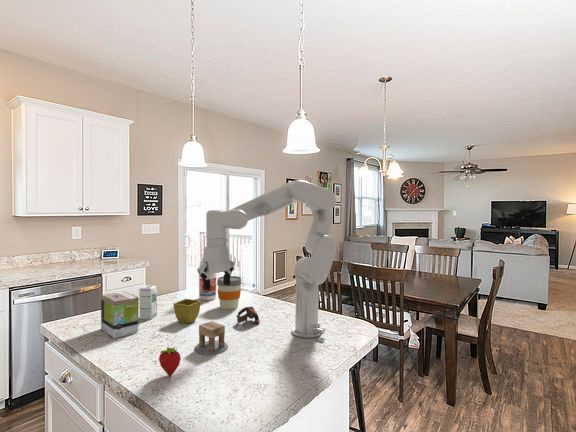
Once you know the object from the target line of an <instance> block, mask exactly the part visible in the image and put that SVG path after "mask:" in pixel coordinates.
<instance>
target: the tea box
mask: <svg viewBox="0 0 576 432" xmlns="http://www.w3.org/2000/svg"><path fill="white" fill-rule="evenodd" d="M100 299H101V300H100V304H101V305H100V329H101V331H102V330H103V331H104V332H105V333H106V334H108V335H109V336H110V337H112V338H114V339H117V338H121V337H124V336H128V335H132V334H133V335H134V334H137V333H139V314H140V296H136V295H134V294H132V293H130V292H127V291H117V292H112V293H107V294H106V293H105V294H101V296H100Z"/></svg>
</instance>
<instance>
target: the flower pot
mask: <svg viewBox="0 0 576 432" xmlns="http://www.w3.org/2000/svg"><path fill="white" fill-rule="evenodd" d="M201 302H202V300H200V299H197V300H196V299H191V298H184V299H181V300H179V301H176V302H174V303H173V310H174V316H175V318H176V319H177V321H178V322H179V323H183V324H190V323H192V322H194V321H196V320H197V318H198V316H199V314H200V310H201Z"/></svg>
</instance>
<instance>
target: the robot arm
mask: <svg viewBox="0 0 576 432" xmlns="http://www.w3.org/2000/svg"><path fill="white" fill-rule="evenodd" d="M297 202H299V203H303V204H306V205H307V206H308V208H309V210H310V212H311V214H312V221H311V225H310V228H309V230H308V231H309V232H308V233H307V237H306V239H305V244H304V247H305V251H306V252H307V253H308V254H311V255H310V257H309V256H302V257H301V258H299V259H298V260H297V261H296V263H295V266H294V279H295V315H294V316H295V323H294V324H295V325H294V326H292V327H291V333H292V334H293V336H296V337H299V338H304V339H305V338H306V339H309V338H310V339H311V338H316V337H319V336H320V335H325V331H326V327H321V322H319V291H320V290H319V286H320V285H322V284H324V283H325V281H326V280H327V278H328V277H329V274H330V272H331V268H332V265H333V262H334V259H335V255H336V252H337V245H336V244H337V243H336V241H335V239H334V238H333V237H332V236H331V231H332V227H333V220H334V219H333V213H332V209H333V208H335V206H336V203H337V196H336V194H335V193H334V192H333V191H332V190H330V189H328V188H326V187H323V186H319V185H317V184H314V183H312V182H310V181H306V180H302V179H297V180H292V181H289V182H287V183H284V184H283V185H280V186H278V187H276V188H273V189H272V190H269V191H267V192H266V193H263V194H261V195H259V196H257V197H255V198H253V199H251V200H248V201H246V202H244V203H242V204H240V205H237V206H235V207H233V208H231V209H229V210H224V209H223V210H222V209H221V210H220V209H211V210H207V212H206V214H205V215H206V217H205V222H206V225H205V226H206V228H205V229H206V246H204V248H203V253H202V258H203V265H201V266H200V265H199V267H198V268H197V269H196V270H197V273H198V277H199V276H200V277H201V278H202V279H203V287H204V290H208V291H209V290H210V280H209V278H210V276H211V274H215V273H216V274H218V273H224V274H223V276H224V285H230V276H232V274H233V273H232V272H233V271H234V268H235V264H236V262H234V261H232V260H231V258H230V249H229V246H228V242H229V239H228V234H227V233H228V231H227V230H228V229H229V230H230V229H231V230H241V229H243V228H245V227H246V226H247V225H248V222H249V221H251V220H253V219H256V218H259V217H264V216H268V215H269V216H270V215H272V214H274V213H277V212H278V211H280V210H282V209H285V208H287V207H288V206H291V205H293V204H295V203H297ZM203 272H204V273H203Z"/></svg>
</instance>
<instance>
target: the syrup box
mask: <svg viewBox="0 0 576 432" xmlns="http://www.w3.org/2000/svg"><path fill="white" fill-rule="evenodd" d="M138 291H139V292H138V293H139V296H138V297H139V319H140V320H153V319H154V318H156V317H157V315H158V313H157V312H158V307H157V305H158V304H157V302H158V300H157V299H158V298H157V297H158V294H157V285H154V284H153V285H151V284H149V285H144V286H141V287H139V290H138Z"/></svg>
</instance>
